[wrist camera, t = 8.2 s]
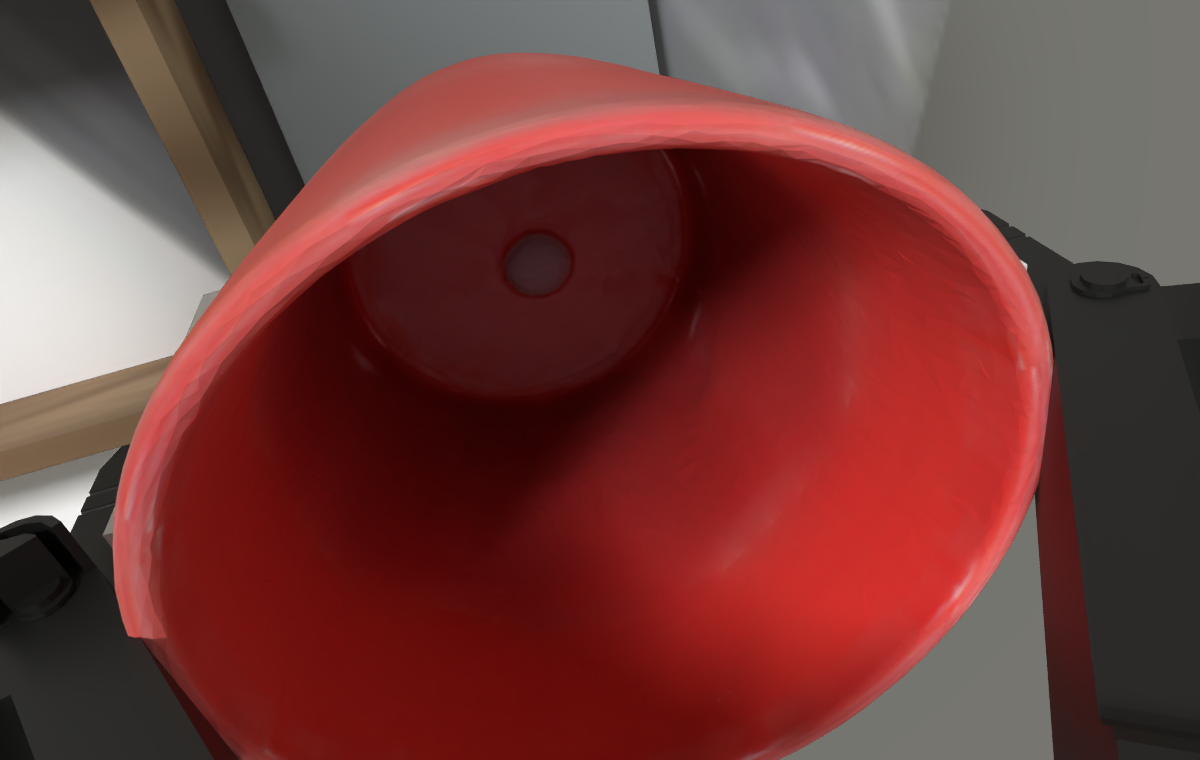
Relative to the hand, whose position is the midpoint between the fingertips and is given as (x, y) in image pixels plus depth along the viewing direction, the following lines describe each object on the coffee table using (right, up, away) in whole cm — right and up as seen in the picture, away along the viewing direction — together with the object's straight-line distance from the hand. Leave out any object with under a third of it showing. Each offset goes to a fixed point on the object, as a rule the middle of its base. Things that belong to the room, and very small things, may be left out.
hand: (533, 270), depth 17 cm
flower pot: (0, +1, +1) cm, 2 cm away
